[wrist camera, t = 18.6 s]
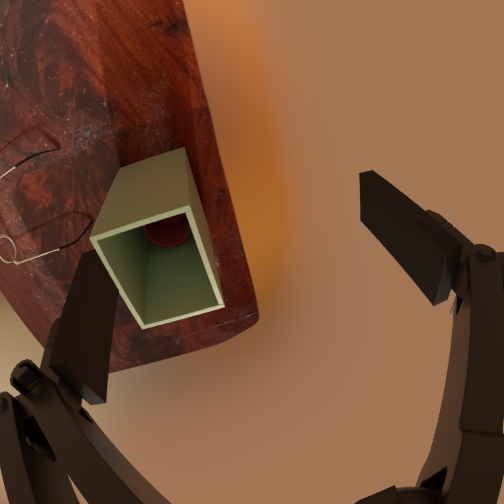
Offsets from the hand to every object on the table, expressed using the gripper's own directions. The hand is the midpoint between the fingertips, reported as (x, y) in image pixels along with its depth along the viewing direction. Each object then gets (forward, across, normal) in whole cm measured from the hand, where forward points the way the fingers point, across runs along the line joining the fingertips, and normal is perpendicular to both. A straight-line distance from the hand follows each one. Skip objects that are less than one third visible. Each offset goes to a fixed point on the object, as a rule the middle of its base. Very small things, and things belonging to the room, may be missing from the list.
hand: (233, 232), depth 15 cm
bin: (+33, -8, -11) cm, 36 cm away
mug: (+33, -8, -11) cm, 35 cm away
